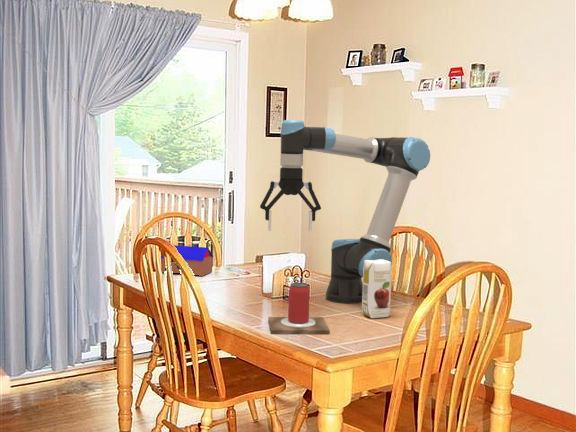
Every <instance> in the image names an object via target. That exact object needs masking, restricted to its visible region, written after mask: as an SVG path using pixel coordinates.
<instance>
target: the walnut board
mask: <svg viewBox="0 0 576 432" xmlns="http://www.w3.org/2000/svg"><path fill="white" fill-rule="evenodd" d="M285 318H288V316H268V320H267V322H268V326H269V331H270V335H330V333H331V330H330V328H329V326H328V324H327V322H326V320H325V318H324V317H323V316H309V319H312V320H314V321H315V322H316V324H315V326H313V327H309V328H291V327H286V326H283V325H282V324H281V320H282V319H285Z"/></svg>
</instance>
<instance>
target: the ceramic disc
mask: <svg viewBox="0 0 576 432" xmlns="http://www.w3.org/2000/svg"><path fill="white" fill-rule="evenodd" d="M281 324H282V325H283V326H286V327H291V328H309V327H313V326H315V324H316V322H315V321H314V320H312V319H309V321H308V322H306V323H303V324H295V323H291V322H289V320H288V318H285V319H282V320H281Z"/></svg>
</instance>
